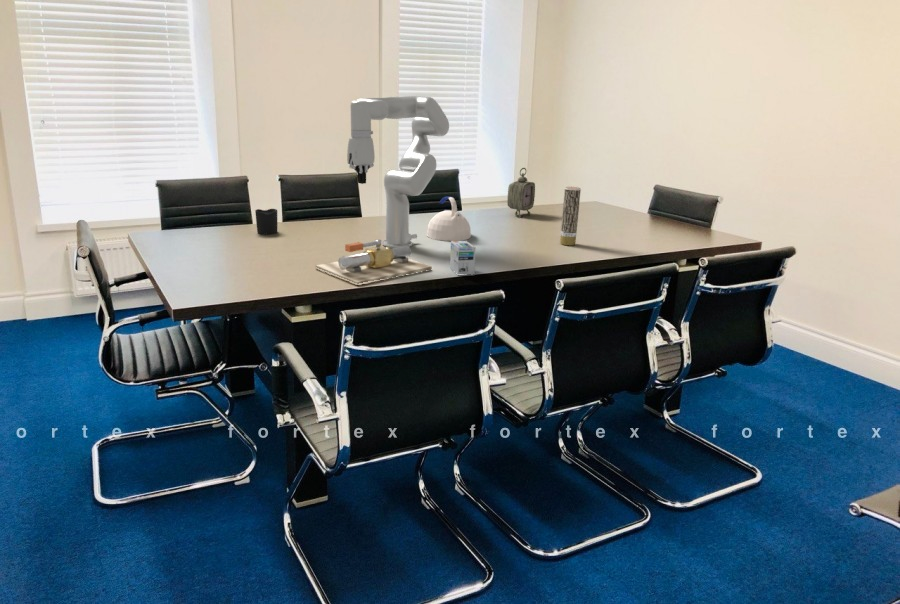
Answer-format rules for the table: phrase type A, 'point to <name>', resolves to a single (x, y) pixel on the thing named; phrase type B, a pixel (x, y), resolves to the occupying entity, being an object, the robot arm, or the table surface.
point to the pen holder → (266, 221)
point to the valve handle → (361, 245)
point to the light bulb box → (462, 257)
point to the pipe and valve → (375, 258)
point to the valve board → (375, 271)
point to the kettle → (449, 224)
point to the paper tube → (570, 215)
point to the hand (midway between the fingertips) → (361, 183)
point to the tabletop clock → (521, 194)
